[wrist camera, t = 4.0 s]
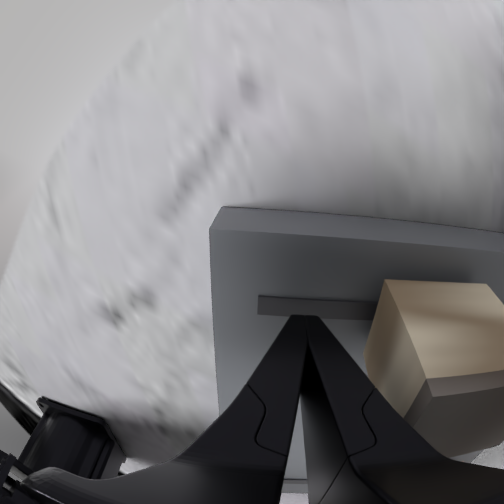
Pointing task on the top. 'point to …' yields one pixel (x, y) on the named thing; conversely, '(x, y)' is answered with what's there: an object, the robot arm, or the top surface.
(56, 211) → the top surface
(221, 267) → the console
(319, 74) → the top surface
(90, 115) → the top surface
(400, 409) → the block
